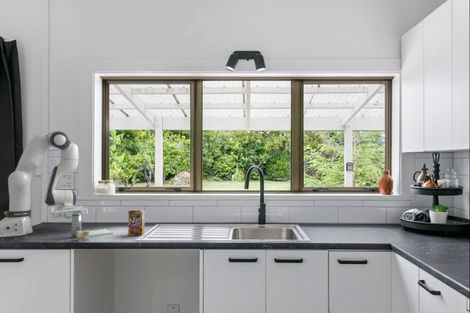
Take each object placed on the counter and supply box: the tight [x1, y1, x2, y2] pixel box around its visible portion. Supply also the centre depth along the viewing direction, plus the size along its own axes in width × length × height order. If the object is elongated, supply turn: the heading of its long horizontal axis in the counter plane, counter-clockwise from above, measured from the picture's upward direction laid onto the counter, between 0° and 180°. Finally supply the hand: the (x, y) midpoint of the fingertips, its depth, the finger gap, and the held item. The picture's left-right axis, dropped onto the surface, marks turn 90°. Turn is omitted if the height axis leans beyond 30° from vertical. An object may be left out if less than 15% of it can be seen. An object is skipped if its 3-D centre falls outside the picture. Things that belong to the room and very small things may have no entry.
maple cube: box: [76, 229, 90, 242], centre depth 188 cm, size 5×5×5 cm
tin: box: [71, 213, 83, 239], centre depth 195 cm, size 5×5×14 cm
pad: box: [88, 228, 114, 238], centre depth 205 cm, size 14×14×1 cm
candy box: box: [127, 209, 146, 237], centre depth 201 cm, size 9×4×15 cm, turn 84°
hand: (73, 214), depth 205 cm, fingers open, 8 cm apart
